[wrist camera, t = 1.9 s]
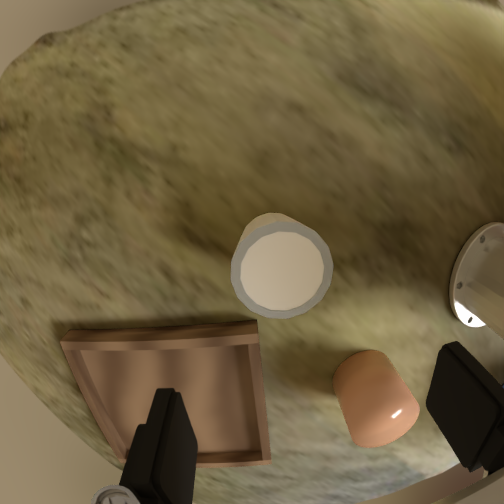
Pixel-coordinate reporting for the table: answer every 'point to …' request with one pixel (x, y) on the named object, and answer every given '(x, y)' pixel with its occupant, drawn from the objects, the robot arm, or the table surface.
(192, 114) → the table surface
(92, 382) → the walnut tray
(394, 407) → the peach rounded capsule
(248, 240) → the white tapered cup
